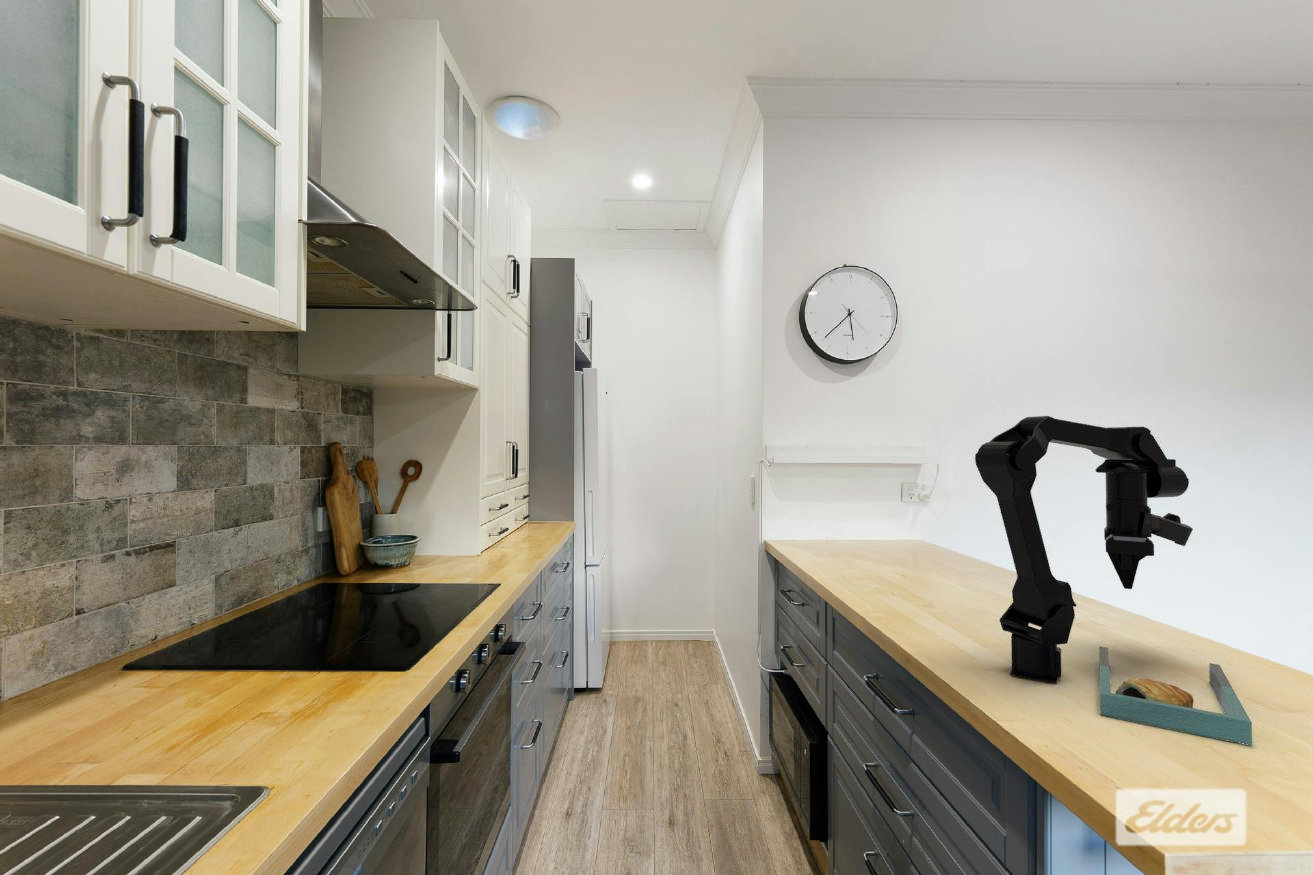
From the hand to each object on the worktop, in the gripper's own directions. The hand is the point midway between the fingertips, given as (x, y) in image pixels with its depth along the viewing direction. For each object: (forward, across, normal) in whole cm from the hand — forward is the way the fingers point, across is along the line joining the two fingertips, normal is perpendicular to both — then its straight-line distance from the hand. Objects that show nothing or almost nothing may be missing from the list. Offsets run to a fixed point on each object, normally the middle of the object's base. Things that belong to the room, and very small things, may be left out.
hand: (1127, 588), depth 105 cm
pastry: (+14, -19, -2) cm, 23 cm away
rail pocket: (+13, -15, -4) cm, 20 cm away
